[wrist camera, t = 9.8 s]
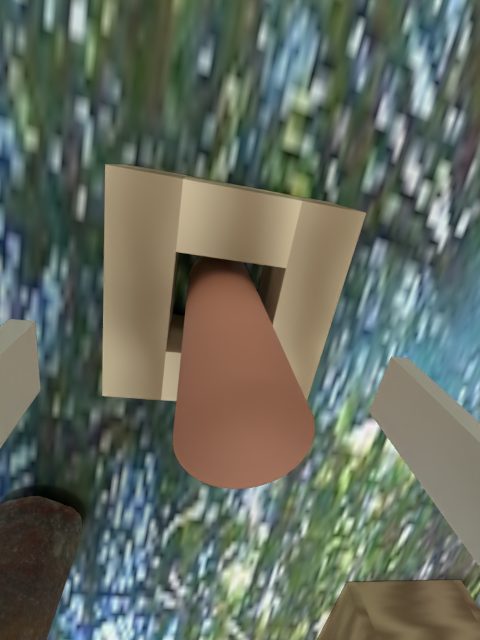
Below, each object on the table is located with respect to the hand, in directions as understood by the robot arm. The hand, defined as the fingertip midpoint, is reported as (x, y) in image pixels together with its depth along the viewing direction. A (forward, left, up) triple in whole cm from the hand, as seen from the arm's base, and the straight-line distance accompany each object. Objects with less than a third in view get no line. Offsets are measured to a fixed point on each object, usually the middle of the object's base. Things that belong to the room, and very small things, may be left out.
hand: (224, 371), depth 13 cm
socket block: (0, 0, -10) cm, 11 cm away
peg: (0, 0, -10) cm, 11 cm away
